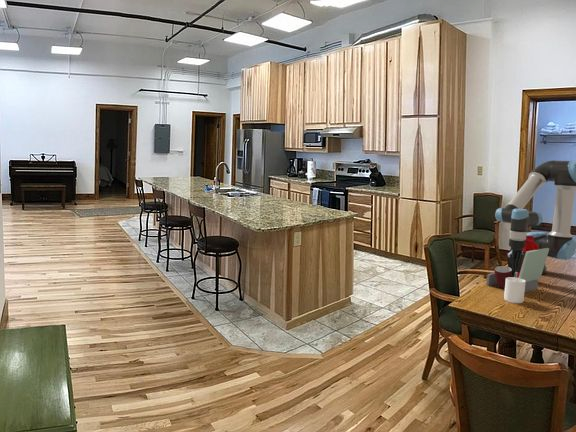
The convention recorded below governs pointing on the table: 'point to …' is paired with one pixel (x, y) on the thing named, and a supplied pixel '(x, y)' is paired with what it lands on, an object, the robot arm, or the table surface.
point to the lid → (533, 264)
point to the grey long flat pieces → (528, 285)
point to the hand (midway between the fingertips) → (512, 283)
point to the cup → (514, 290)
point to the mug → (502, 275)
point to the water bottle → (529, 247)
